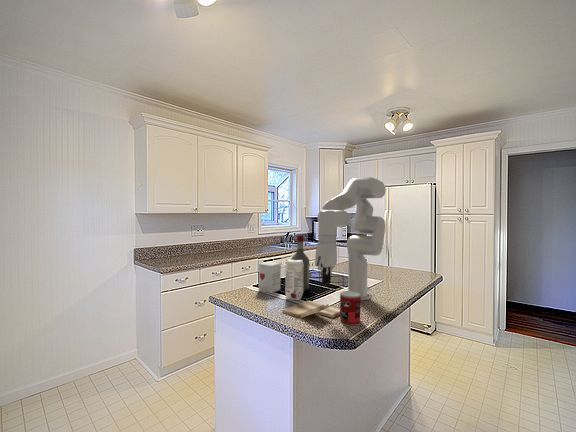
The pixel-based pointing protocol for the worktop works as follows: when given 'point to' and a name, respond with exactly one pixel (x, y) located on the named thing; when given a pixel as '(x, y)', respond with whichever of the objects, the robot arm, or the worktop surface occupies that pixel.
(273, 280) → the supplement box
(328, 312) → the plank
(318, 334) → the worktop surface
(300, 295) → the juice carton
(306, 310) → the brown wooden board
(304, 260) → the liquor
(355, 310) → the canned food
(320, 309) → the plank
